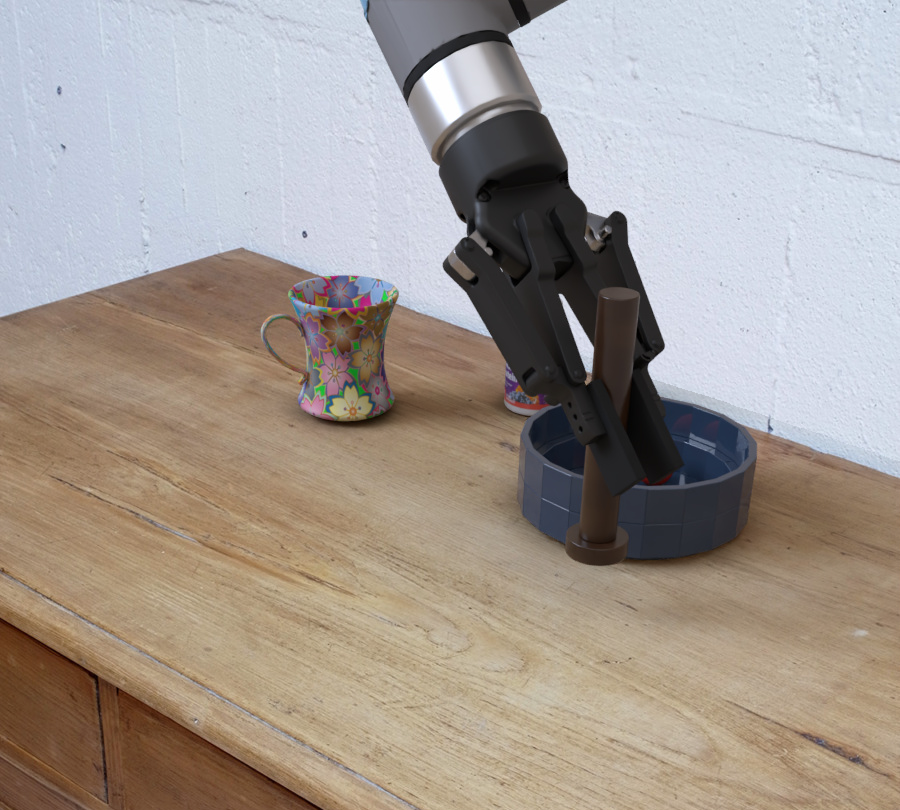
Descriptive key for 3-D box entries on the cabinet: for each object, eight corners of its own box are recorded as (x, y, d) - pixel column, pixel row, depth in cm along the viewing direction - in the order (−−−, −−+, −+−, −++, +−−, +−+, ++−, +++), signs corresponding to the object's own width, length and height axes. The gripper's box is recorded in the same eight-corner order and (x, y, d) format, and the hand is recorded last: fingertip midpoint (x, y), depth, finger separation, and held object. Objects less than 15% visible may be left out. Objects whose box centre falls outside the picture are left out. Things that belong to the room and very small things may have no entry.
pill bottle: (491, 405, 117) (495, 298, 112) (533, 390, 121) (538, 286, 116) (534, 423, 114) (540, 314, 109) (576, 407, 117) (584, 301, 112)
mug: (376, 383, 121) (375, 270, 116) (415, 420, 114) (415, 301, 109) (250, 402, 117) (243, 285, 112) (282, 441, 110) (276, 318, 104)
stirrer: (619, 535, 86) (645, 282, 78) (633, 565, 83) (661, 303, 74) (560, 537, 86) (578, 282, 77) (571, 567, 83) (592, 304, 74)
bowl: (709, 460, 108) (718, 391, 105) (776, 561, 93) (789, 485, 90) (502, 466, 106) (505, 396, 103) (538, 570, 92) (542, 492, 88)
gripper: (555, 163, 89) (703, 475, 86) (362, 191, 81) (517, 536, 78) (615, 92, 82) (777, 426, 79) (412, 115, 74) (583, 488, 71)
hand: (648, 480), depth 78 cm, fingers closed on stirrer, 2 cm apart
